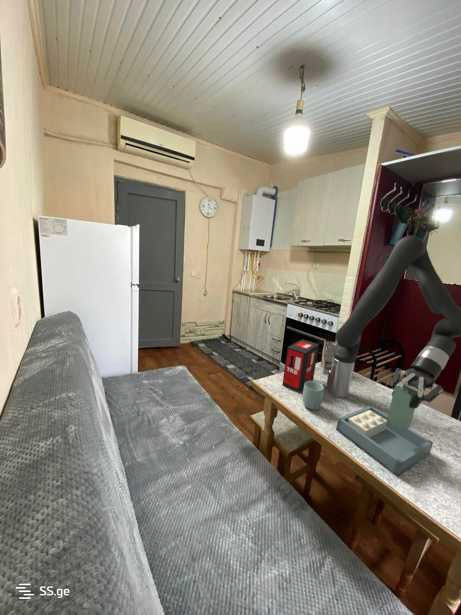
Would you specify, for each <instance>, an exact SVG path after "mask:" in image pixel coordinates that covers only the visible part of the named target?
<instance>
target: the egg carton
mask: <svg viewBox="0 0 461 615" xmlns="http://www.w3.org/2000/svg"><path fill="white" fill-rule="evenodd" d="M386 421H387V420H385V419H383V418H382V417H381V416H379V415H377V414H375V413H374V412H373V411H371V410H368V411H366V412H363V413H361V414H358V415H356V416H353V417H351V418H349V419H348V423H349V424H350V425H352V426H353V427H355V428H356V429H357V430H359V431H360V432H362V433H363V434H364V435H366V436H367V437H369V438H370V437H372V436H374V435H376V434H378V433H380V432H382V431H384V430H385V428H386V424H387V422H386Z"/></svg>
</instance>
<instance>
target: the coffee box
mask: <svg viewBox="0 0 461 615" xmlns="http://www.w3.org/2000/svg"><path fill="white" fill-rule="evenodd" d="M323 342H324V343H323V344H324V345H323V349H322V354H321V355H322V356H321V361H320V369H321V372H322V374H325V375H328V373H329V371H330V370H331V367H332V362H333V356H334V352H335V350H336V347H337V344H338V343H337V342H336V341H329V340H324V341H323Z"/></svg>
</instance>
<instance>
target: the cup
mask: <svg viewBox="0 0 461 615" xmlns="http://www.w3.org/2000/svg"><path fill="white" fill-rule="evenodd" d="M302 391H303V392H302V403H303V406H304V407H306V408H307V409H308V410H312V411H313V410H314V411H315V410H318V409H319V408H320V406H321V405H322V402H323V398H324V397H323V396H324V392H325V387H324V386H323V384H321V383H320V382H317V381H314V380H313V381H307V382H305V384H304V389H303V390H302Z"/></svg>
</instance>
